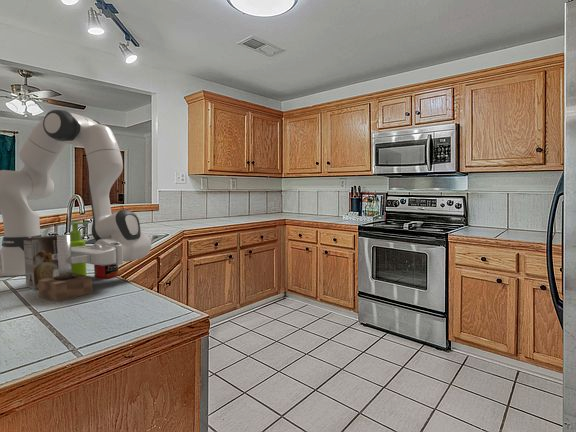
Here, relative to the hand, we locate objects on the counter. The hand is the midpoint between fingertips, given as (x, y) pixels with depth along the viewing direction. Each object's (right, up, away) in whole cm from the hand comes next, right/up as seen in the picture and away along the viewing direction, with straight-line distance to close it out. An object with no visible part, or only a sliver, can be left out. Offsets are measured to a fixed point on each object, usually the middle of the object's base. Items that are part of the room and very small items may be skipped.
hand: (61, 259), depth 102 cm
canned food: (+1, -10, +24) cm, 26 cm away
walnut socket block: (0, -11, +1) cm, 11 cm away
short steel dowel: (-8, -10, +11) cm, 17 cm away
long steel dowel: (0, -11, +1) cm, 11 cm away
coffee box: (-14, -10, +13) cm, 22 cm away
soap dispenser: (-10, -10, +24) cm, 28 cm away
